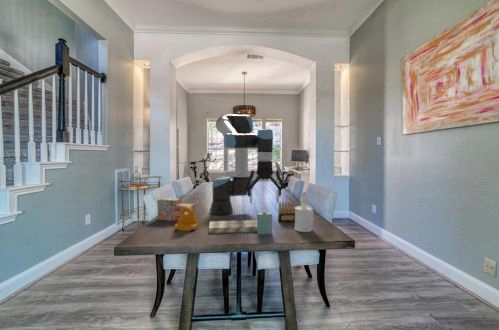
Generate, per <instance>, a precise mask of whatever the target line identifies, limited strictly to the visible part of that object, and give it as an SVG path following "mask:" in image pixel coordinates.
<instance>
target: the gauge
mask: <svg viewBox="0 0 499 330" xmlns="http://www.w3.org/2000/svg"><path fill="white" fill-rule="evenodd" d="M256 220H257V232H256V233H257V235H272V233H273V213H272V211H271V212H267V211H266V210H265V211H261V212H256Z"/></svg>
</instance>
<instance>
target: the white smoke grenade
mask: <svg viewBox="0 0 499 330" xmlns="http://www.w3.org/2000/svg"><path fill="white" fill-rule="evenodd" d="M299 203H300V205H299V206H298V205H296V207H295V222H294V228H293V229H294V230H295V231H297V232H300V233H310V232H313V226H312V225H313V224H314V209H313V207H312V206H310V205H309V204H308V202H307V193H306V192H305V191H302V192H301V196H300V198H299Z"/></svg>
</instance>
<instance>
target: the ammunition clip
mask: <svg viewBox="0 0 499 330" xmlns="http://www.w3.org/2000/svg"><path fill="white" fill-rule="evenodd" d="M278 206H279V207H278V215H277V217H278V218H277V222H278V223H295V207H297V202H296V201H294V203H293V201H291V202H290V201H288V202H287V201H285V202H284V201H282V203H281V201H279V203H278Z"/></svg>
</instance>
